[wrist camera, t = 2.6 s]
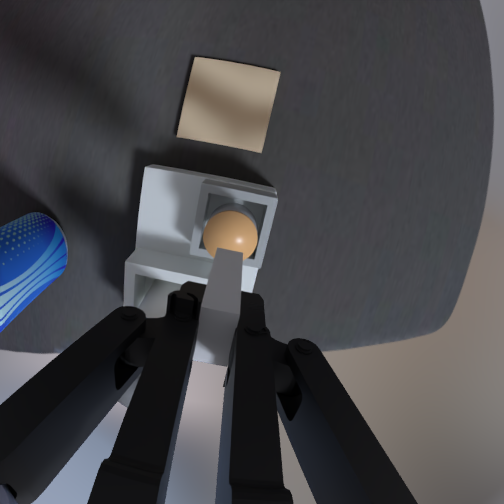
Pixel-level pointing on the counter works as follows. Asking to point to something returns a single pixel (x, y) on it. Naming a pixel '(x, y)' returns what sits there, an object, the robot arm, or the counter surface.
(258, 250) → the housing
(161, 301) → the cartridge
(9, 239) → the beer can
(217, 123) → the coaster
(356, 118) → the counter surface
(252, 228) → the tan dome
